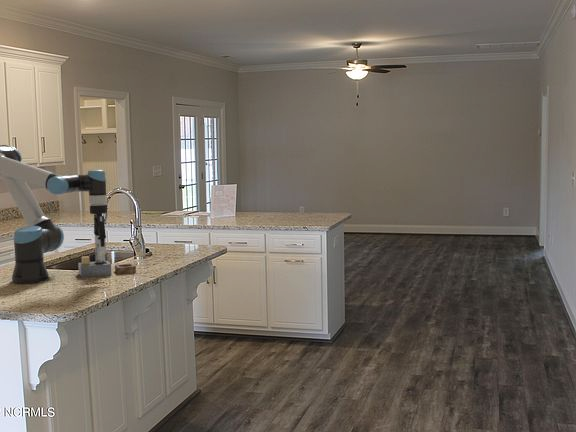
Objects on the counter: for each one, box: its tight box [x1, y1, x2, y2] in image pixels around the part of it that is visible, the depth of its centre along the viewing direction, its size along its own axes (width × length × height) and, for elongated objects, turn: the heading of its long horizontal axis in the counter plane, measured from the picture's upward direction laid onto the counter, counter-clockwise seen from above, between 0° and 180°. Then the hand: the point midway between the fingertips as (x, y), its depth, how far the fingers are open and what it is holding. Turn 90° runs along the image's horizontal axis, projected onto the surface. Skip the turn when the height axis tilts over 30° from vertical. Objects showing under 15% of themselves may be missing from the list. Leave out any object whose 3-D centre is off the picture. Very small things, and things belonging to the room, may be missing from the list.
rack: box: [113, 263, 138, 276], centre depth 307 cm, size 9×9×4 cm
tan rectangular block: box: [81, 255, 91, 265], centre depth 300 cm, size 3×3×7 cm
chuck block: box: [77, 260, 113, 279], centre depth 301 cm, size 13×10×6 cm
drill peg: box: [94, 242, 106, 264], centre depth 302 cm, size 4×4×14 cm
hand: (100, 251), depth 301 cm, fingers open, 13 cm apart
